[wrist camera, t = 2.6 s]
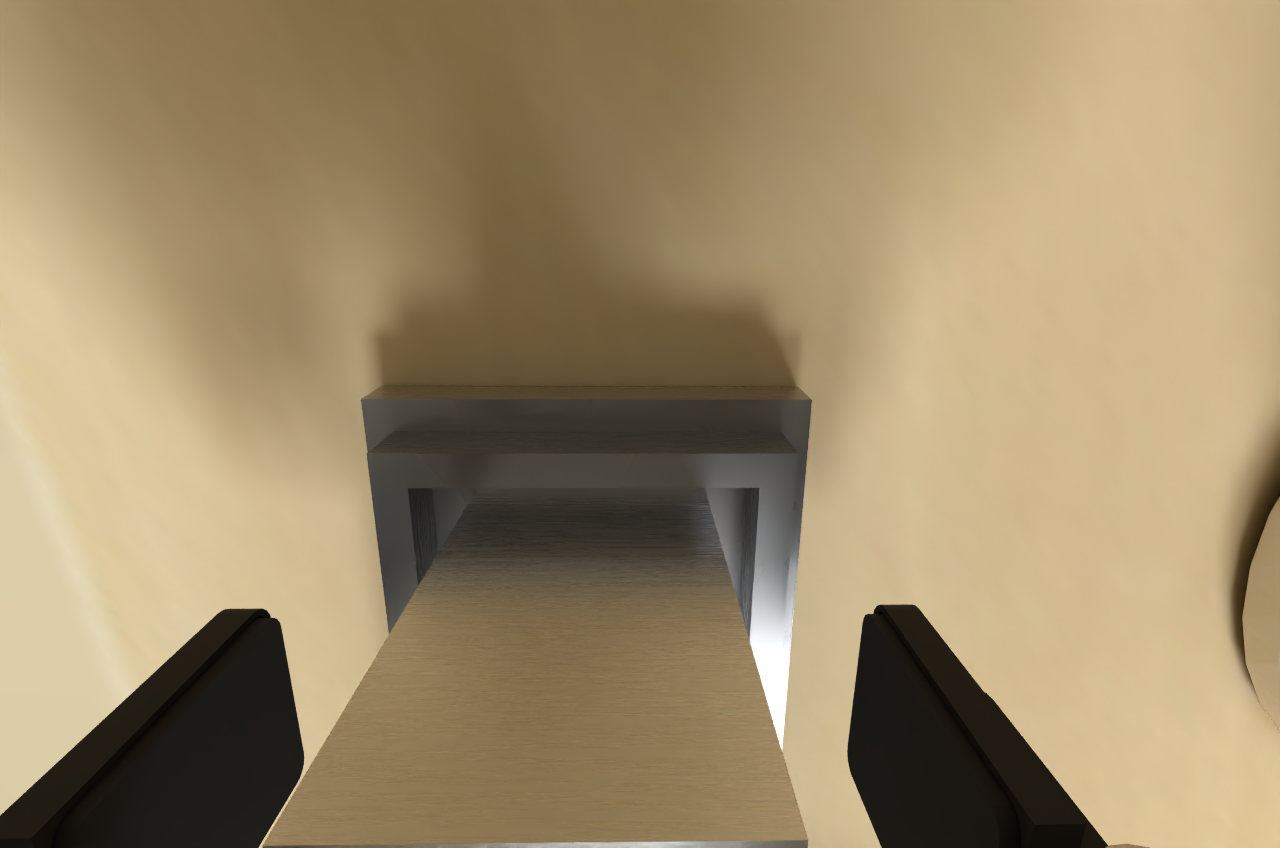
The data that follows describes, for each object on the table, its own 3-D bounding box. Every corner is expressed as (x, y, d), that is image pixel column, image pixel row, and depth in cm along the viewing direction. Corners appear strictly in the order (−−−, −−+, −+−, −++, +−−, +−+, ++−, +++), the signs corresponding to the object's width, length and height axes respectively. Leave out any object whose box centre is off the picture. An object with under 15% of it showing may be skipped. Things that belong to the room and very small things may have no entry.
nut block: (707, 497, 12) (808, 838, 5) (699, 694, 13) (773, 1175, 6) (470, 498, 12) (262, 845, 5) (486, 695, 13) (334, 1183, 6)
